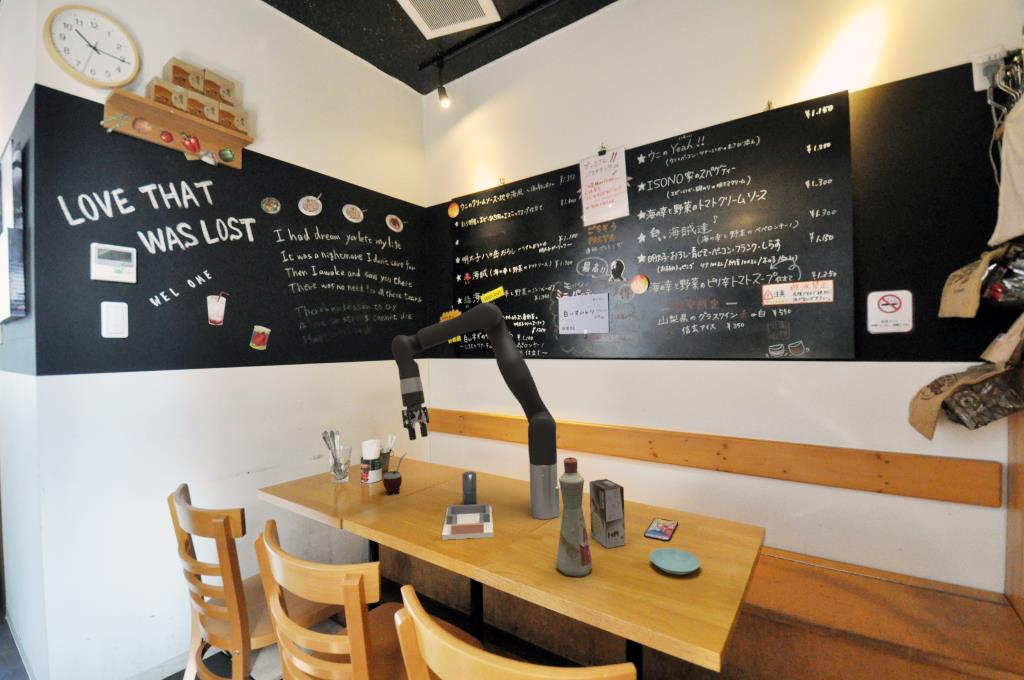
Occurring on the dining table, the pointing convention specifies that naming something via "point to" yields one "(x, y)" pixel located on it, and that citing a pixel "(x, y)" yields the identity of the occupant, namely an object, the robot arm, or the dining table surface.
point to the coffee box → (607, 513)
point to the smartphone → (661, 529)
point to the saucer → (674, 561)
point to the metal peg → (469, 488)
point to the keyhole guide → (468, 522)
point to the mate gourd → (393, 480)
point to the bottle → (573, 524)
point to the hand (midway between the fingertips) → (419, 438)
